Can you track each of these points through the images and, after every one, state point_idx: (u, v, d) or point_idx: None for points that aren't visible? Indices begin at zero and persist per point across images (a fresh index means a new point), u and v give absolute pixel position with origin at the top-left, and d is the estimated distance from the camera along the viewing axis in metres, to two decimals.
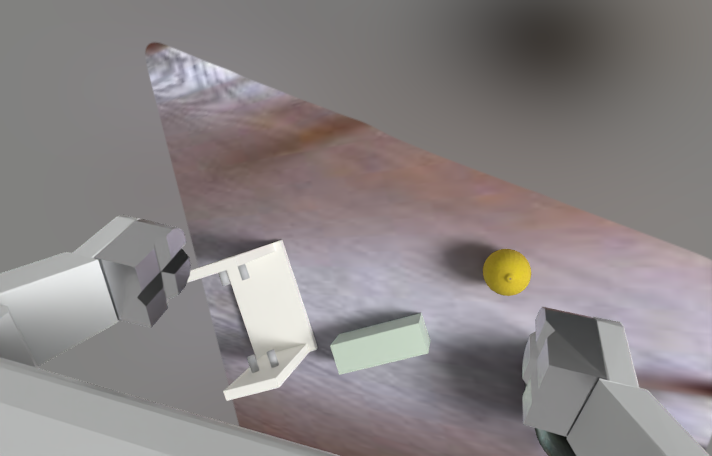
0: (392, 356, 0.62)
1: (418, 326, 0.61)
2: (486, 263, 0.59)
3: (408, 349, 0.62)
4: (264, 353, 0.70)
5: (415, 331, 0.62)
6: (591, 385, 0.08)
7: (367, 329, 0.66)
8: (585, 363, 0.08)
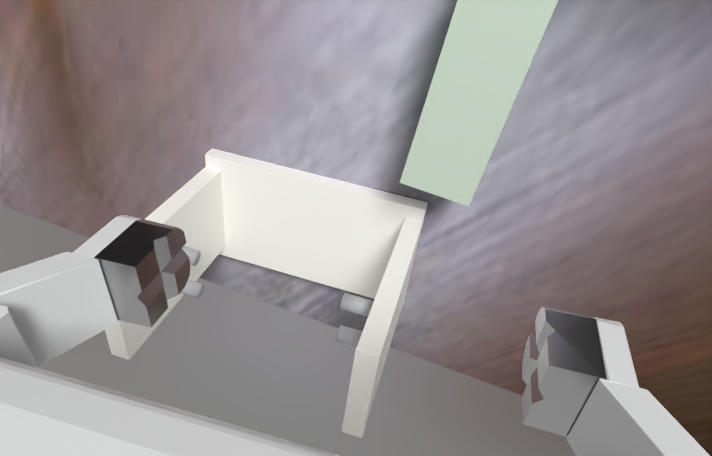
0: (509, 70, 0.23)
1: None
2: None
3: (523, 16, 0.21)
4: None
5: None
6: (591, 385, 0.08)
7: None
8: (585, 363, 0.08)
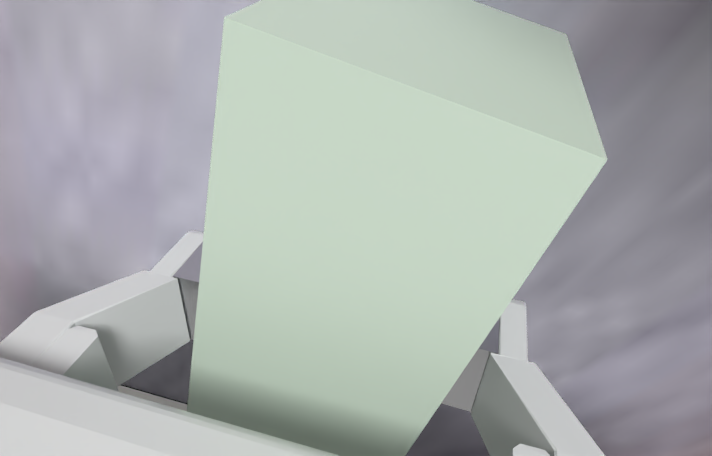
0: (392, 387, 0.07)
1: (259, 47, 0.05)
2: None
3: (422, 276, 0.06)
4: None
5: (296, 113, 0.05)
6: (484, 359, 0.09)
7: None
8: None
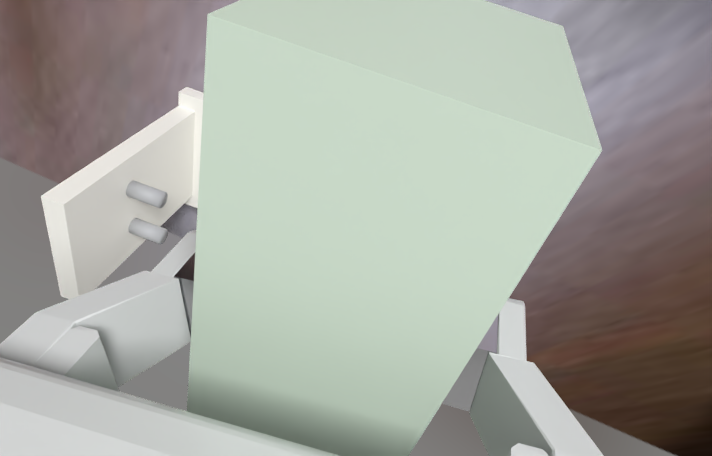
0: (391, 389, 0.07)
1: (244, 44, 0.05)
2: None
3: (417, 274, 0.06)
4: None
5: (284, 111, 0.05)
6: (483, 359, 0.09)
7: None
8: None
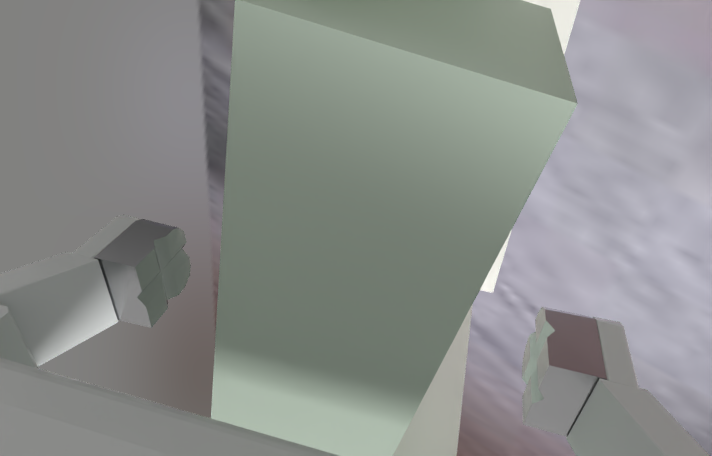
0: (401, 341, 0.08)
1: (266, 23, 0.06)
2: None
3: (421, 227, 0.07)
4: None
5: (301, 81, 0.06)
6: (591, 385, 0.08)
7: None
8: (585, 363, 0.08)
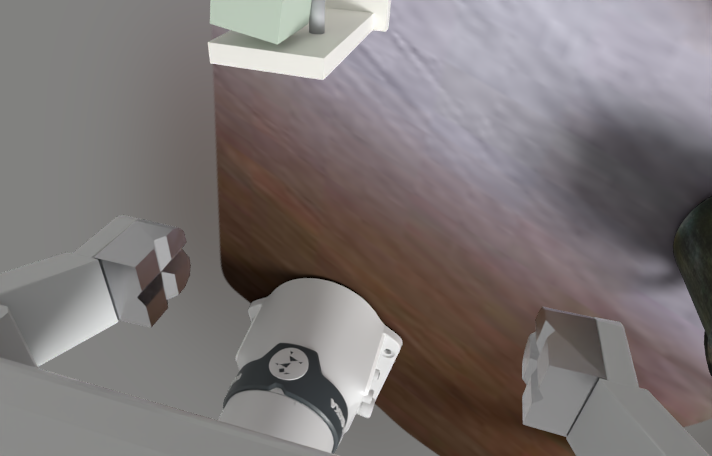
0: None
1: None
2: None
3: None
4: None
5: None
6: (591, 385, 0.08)
7: None
8: (585, 363, 0.08)
